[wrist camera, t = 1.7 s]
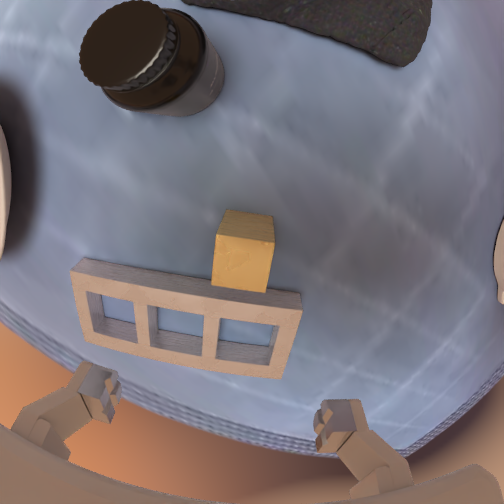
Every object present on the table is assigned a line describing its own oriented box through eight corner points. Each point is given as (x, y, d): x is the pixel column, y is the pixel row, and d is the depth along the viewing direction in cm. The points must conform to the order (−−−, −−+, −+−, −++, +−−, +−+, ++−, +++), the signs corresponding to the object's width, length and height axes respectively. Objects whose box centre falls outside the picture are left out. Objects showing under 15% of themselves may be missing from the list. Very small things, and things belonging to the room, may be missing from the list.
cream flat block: (299, 292, 28) (303, 310, 25) (279, 360, 32) (280, 379, 29) (83, 257, 27) (69, 270, 24) (95, 326, 31) (85, 341, 28)
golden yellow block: (272, 216, 25) (275, 243, 19) (264, 257, 27) (265, 293, 21) (226, 209, 25) (216, 234, 19) (221, 251, 26) (211, 285, 21)
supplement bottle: (241, 87, 20) (222, 49, 9) (172, 132, 22) (98, 142, 11) (198, 28, 18) (149, -38, 7) (133, 73, 20) (45, 50, 9)
